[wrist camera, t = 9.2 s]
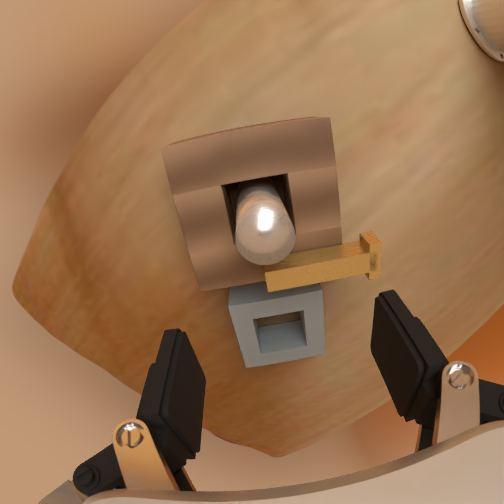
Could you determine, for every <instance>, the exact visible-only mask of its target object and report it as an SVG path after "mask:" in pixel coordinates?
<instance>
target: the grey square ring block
mask: <svg viewBox="0 0 504 504" xmlns="http://www.w3.org/2000/svg"><path fill="white" fill-rule="evenodd" d="M228 308H229V311H230V315H231V318H232V322H233V325H234V329H235V332H236V335H237V339H238V342H239V346H240V349H241V352H242V355H243V359H244V362H245V365H246V368H249V367H256V366H263V365H269V364H276V363H281V362H287V361H293V360H298V359H304V358H309V357H314V356H319V355H323V354H325V333H324V309H323V290H322V288H321V285H320V283H316V284H310V285H305V286H300V287H294V288H289V289H284V290H278V291H272V292H268V289H267V283H266V281H262V282H256V283H250V284H244V285H238V286H232V287H229V300H228ZM297 311H299V313H300V320H297V321H292V322H286V323H280V324H275V325H269V326H263V327H258V322H257V318H263V317H269V316H275V315H280V314H286V313H291V312H297Z"/></svg>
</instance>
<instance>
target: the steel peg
mask: <svg viewBox="0 0 504 504" xmlns="http://www.w3.org/2000/svg"><path fill="white" fill-rule="evenodd" d="M295 238H296V235H295V229H294V227H293V224H292V222H291V220H290V218H289V216H288V213H287V211H286V209H285V207H284V205H283V203H282V201H281V198H280V196H279V194H278V192H277V190H276V188H275V186H274V184H273V182H272V181H271V180H270V179H269V178H268V177H261V178H256V179H250V180H245V181H241V182H240V184H239V186H238V190H237V211H236V245H237V248H238V250H239V252H240V254H241V255H242V256H243V257H244V258H245V259H247V260H248V261H250V262H252V263H254V264H258V265H271V264H275V263H278V262H280V261H281V260H283V259H284V258H286V257H287V256H288V255H289V253H290V252H291V251H292V249H293V247H294V244H295Z"/></svg>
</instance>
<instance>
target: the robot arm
mask: <svg viewBox="0 0 504 504" xmlns="http://www.w3.org/2000/svg"><path fill="white" fill-rule="evenodd" d="M459 5H460V10H461V13H462V16H463V18H464V21H465V23H466V25H467V27H468V29H469V31H470V33H471V34H472V36H473V38H474V39H475V40H476V42H477V43H478V44H479V46H480V47H481V48H482V49H483V50H484V51H485V52H486V53H487V54H488V55H489V56H490V57H492V58H493V59H495V60H497V61H500V62H504V0H459ZM371 352H372V355H373V357H374V359H375V361H376V363H377V366H378V368H379V370H380V372H381V375H382V377H383V379H384V381H385V384H386V386H387V388H388V390H389V393H390V395H391V397H392V400H393V402H394V404H395V407H396V409H397V412H398V414H399V415H400V416H404V418H405V421H406V422H408V421H410V420H413V419H415V421H416V423H417V424H419V431H418V437H417V443H416V448H415V453H413V454H411V455H408V456H405V457H403V458H400V459H398V460H394V461H392V462H389V463H386V464H383V465H379V466H376V467H373V468H370V469H367V470H363V471H359V472H355V473H352V474H348V475H344V476H339V477H336V478H331V479H326V480H322V481H316V482H311V483H305V484H299V485H293V486H285V487H278V488H270V489H258V490H245V491H220V492H203V491H196V489H195V487H194V485H193V484H192V482H191V480H190V478H189V476H188V474H187V472H186V471H185V469H184V467H183V466H184V465H186V460H187V459H195V456H196V452H199V451H200V443H201V431H202V419H203V407H204V396H205V385H206V380H205V375H204V373H203V371H202V368H201V366H200V364H199V362H198V360H197V357H196V355H195V353H194V351H193V348H192V346H191V344H190V341H189V339H188V337H187V334H186V332H181V330H180V329H170V330H165V331H164V334H163V337H162V341H161V344H160V348H159V351H158V355H157V359H156V362H155V363H153V364H151V366H150V368H149V371H148V375H147V378H146V382H145V386H144V389H143V393H142V397H141V400H140V405H139V408H138V412H137V416H136V419H128V420H125V421H123V422H121V423H120V424H119V425H118V426H117V427H116V428H115V429H114V431H113V435H112V442H113V443H112V444H111V445H109V446H108V447H106V448H105V449H104V450H102V451H100V452H99V453H97V454H96V455H94V456H93V457H92V458H90V459H88V460H87V461H85V462H84V463H82V464H80V465H79V466H78V467H77V468H76V470H75V471H74V474H73V480H72V481H69V480H67V481H66V482H65V483H63V484H62V485H61V486H59V487H58V488H57V489H55V490H54V491H53V492H51V493H50V494H48V495H47V496H46V497H44V498H43V499H42V500H41V501H40V502H39V504H504V386H503V385H500V384H496V383H492V382H489V381H485V380H481V379H478V374H477V371H476V369H475V368H474V367H473V366H472V365H471V364H469V363H467V362H464V361H454V362H451V363H449V362H448V361H447V359H446V357H445V356H444V354H443V353H442V351H441V350H440V348H439V347H438V345H437V344H436V342H435V341H434V339H433V338H432V336H431V335H430V333H429V332H428V331H427V329H426V328H425V326H424V325H423V323H422V322H421V321H420V319H419V318H417V317H413V315H412V314H411V312H410V311H409V310H408V308H407V307H406V305H405V304H404V303H403V301H402V300H401V298H400V297H399V296H398V294H397V293H396V292H395V291H394V290H389V291H385V292H381V293H379V297H376V298H375V306H374V318H373V328H372V337H371Z"/></svg>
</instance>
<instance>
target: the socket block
mask: <svg viewBox="0 0 504 504" xmlns="http://www.w3.org/2000/svg"><path fill="white" fill-rule="evenodd" d="M161 151H162V155H163V159H164V163H165V167H166V171H167V175H168V179H169V183H170V187H171V191H172V195H173V198H174V202H175V206H176V209H177V213H178V217H179V220H180V224H181V227H182V231H183V234H184V238H185V241H186V244H187V248H188V251H189V254H190V258H191V261H192V264H193V267H194V271H195V274H196V277H197V280H198V283H199V286H200V290H201V292H202V291H208V290H214V289H220V288H226V287H232V286H238V285H244V284H250V283H256V282H262V281H266V278H265V272H264V265H258V264H254V263H252V262H250V261H248V260H247V259H245V258H244V257H243V256H242V255H241V254H240V252H239V250H238V248H237V245H236V222H235V218H234V213H233V209H232V204H231V199H230V195H229V190H228V185H227V184H229V183H234V182H240V181H245V180H250V179H256V178H261V177H267V176H273V175H279V174H281V179H282V185H283V192H284V198H285V205H286V211H287V213H288V216H289V218H290V220H291V222H292V224H293V227H294V229H295V235H296V238H295V244H294V247H293V249H292V251H291V252H290V253H289V254H292V253H298V252H303V251H309V250H314V249H320V248H325V247H331V246H336V245H342V235H341V218H340V204H339V192H338V181H337V171H336V161H335V153H334V145H333V137H332V129H331V122H330V118H327V117H308V118H300V119H292V120H284V121H277V122H270V123H264V124H258V125H252V126H246V127H241V128H236V129H230V130H225V131H221V132H216V133H211V134H207V135H202V136H198V137H194V138H189V139H185V140H181V141H177V142H175V143H172V144H170V145H167V146H165V147H163V148H161Z"/></svg>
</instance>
